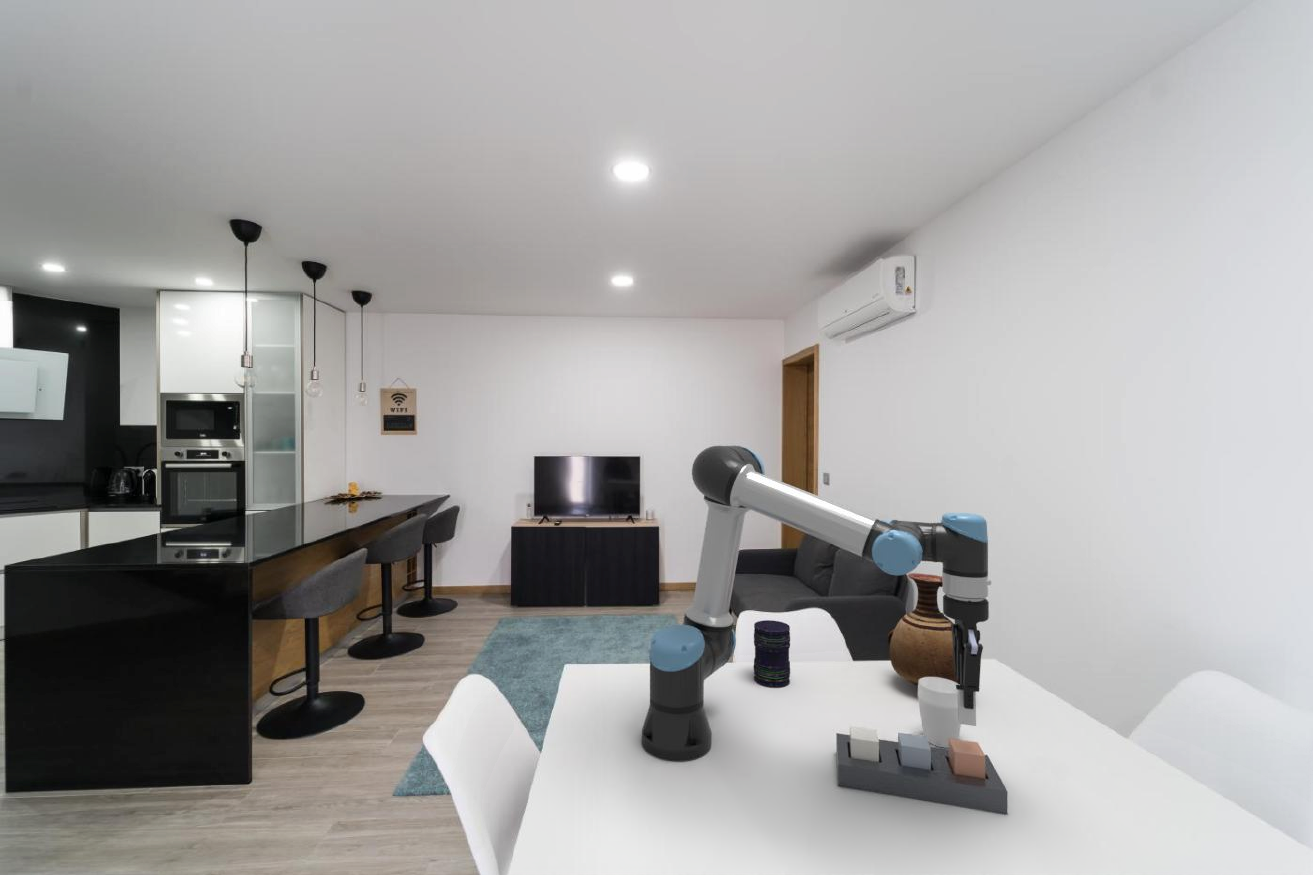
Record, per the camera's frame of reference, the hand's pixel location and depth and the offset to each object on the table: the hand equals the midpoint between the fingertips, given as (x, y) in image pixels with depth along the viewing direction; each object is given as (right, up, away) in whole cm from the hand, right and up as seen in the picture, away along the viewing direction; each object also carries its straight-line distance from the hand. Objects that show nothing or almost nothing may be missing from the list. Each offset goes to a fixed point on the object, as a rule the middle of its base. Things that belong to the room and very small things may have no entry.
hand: (966, 722), depth 103 cm
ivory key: (-17, -10, +5) cm, 21 cm away
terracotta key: (0, -10, 0) cm, 10 cm away
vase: (+14, -14, +43) cm, 47 cm away
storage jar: (-26, -14, +48) cm, 57 cm away
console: (-9, -12, +2) cm, 15 cm away
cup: (+4, -13, +17) cm, 22 cm away
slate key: (-9, -10, +2) cm, 13 cm away
